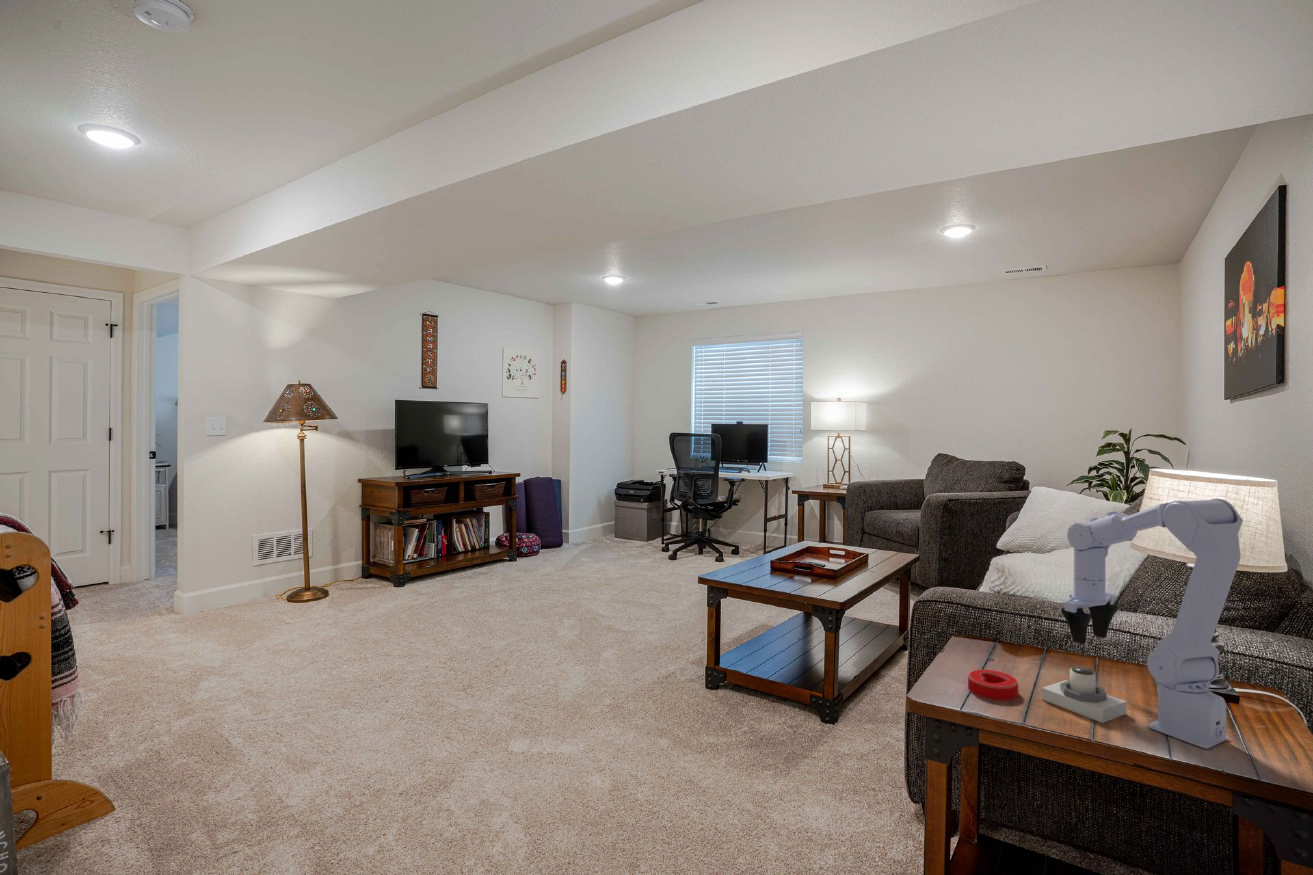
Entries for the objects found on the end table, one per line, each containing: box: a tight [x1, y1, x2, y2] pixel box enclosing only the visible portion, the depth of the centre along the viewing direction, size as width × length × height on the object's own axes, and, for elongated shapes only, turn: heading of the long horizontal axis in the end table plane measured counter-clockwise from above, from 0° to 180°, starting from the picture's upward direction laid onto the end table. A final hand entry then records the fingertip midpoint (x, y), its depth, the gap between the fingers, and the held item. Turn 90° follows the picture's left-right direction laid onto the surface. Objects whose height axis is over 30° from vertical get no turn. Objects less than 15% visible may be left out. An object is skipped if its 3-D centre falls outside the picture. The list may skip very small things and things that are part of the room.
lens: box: [1069, 665, 1097, 695], centre depth 132 cm, size 4×4×5 cm
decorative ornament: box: [967, 669, 1019, 701], centre depth 140 cm, size 10×10×3 cm
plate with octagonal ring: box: [1041, 679, 1127, 724], centre depth 132 cm, size 12×8×4 cm, turn 26°
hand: (1089, 639), depth 141 cm, fingers open, 7 cm apart
